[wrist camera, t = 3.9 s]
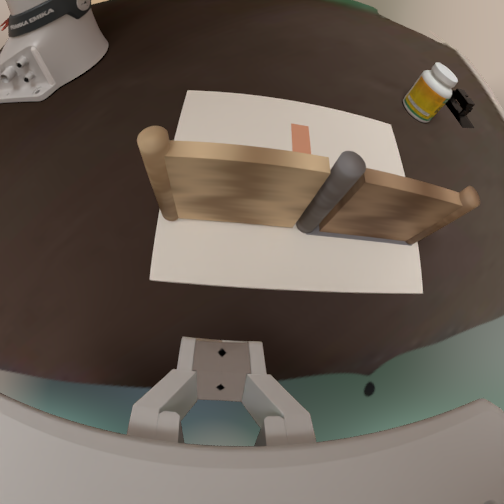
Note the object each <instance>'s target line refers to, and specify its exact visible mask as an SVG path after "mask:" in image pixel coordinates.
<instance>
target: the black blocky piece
mask: <svg viewBox="0 0 504 504" xmlns="http://www.w3.org/2000/svg"><path fill="white" fill-rule="evenodd" d="M467 97H468V95H467V94H466V92H465V91H464V90H461V89H456V91H455V90H454V91H453V92H452V96H451V98H450V99H449V100H448V101H447V102H446V103H445V104H446V105H447V107H448V108H449V109H450V111H451V112H452V113H453V115H454V116H455V117H456V119H457V120H458V122H459V123H460V125H461V126H462V127H463V128H474V127H473V125H472V124H471V122H470V121H469V119H468V118H467V116H466V115H467V114H468V113H469V112H471V110H472V109H473V108H472V107H473V106H474V105H475V104H474V103H473V101H472V100H471V99H470V98H467ZM456 99H457V101H458V102H459V103H460V106H461V107H462V109H463V110H462V109H461V107H460V106H459V104H458V103H457V101H456Z"/></svg>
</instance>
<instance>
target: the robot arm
mask: <svg viewBox="0 0 504 504" xmlns="http://www.w3.org/2000/svg"><path fill="white" fill-rule="evenodd" d="M6 2H7V5H8V8H9V10H10V13H11V14H10V16H9V18H8V19H7V20H6V21H5V22H4V23H3V24H2V25H4V24H5V23H6V25H5V26H4V27H3V29H2V31H3V30H4V29H5V28H6V27H7V26H8V25H9V38H8V40H7V42H6V44H5V46H4V48H3V50H2V52H1V54H0V103H7V102H28V101H42V100H44V99H46V98H47V97H48V96H50V95H51V94H52V93H53V92H54V91H55V90H57V89H58V88H59V87H61V86H62V85H64V84H66V83H67V82H69V81H71V80H73V79H75V78H76V77H78V76H80V75H81V74H83V73H84V72H86V71H87V70H89V69H90V68H91V67H92V66H94V65H95V64H96V63H97V62H98V61H99V60H100V59H101V58H102V57H103V56H104V55H105V53H106V52H107V49H108V46H109V44H108V41H107V40H106V39H105V37H104V36H103V34H102V33H101V31H100V29H99V27H98V25H97V23H96V20H95V18H94V15H93V13H92V10H91V0H6ZM2 25H1V26H2ZM197 399H200V400H223V401H240V402H242V404H243V405H244V407H245V408H246V409H247V411H248V412H249V413H250V415H251V416H252V417H253V419H254V420H255V421H256V423H257V424H258V426H259V427H260V428H261V430H260V432H259V435H258V438H257V440H256V443H255V446H248V447H247V446H245V447H244V446H212V445H211V446H210V445H195V444H185V443H184V439H183V433H182V427H181V420H182V419H183V418H184V417H185V415H186V414H187V413H188V412H189V410H190V409H191V408H192V407H193V405H194V404H195V403H196V402H197ZM0 504H504V411H502V410H501V409H500V408H499V407H497V406H496V405H494V404H493V403H491V402H490V401H487V400H486V399H477V400H475V401H472V402H470V403H468V404H465V405H463V406H460V407H458V408H455V409H453V410H450V411H447V412H444V413H442V414H439V415H436V416H433V417H430V418H427V419H424V420H421V421H418V422H414V423H411V424H407V425H403V426H400V427H396V428H392V429H388V430H384V431H379V432H375V433H371V434H366V435H360V436H356V437H350V438H344V439H338V440H330V441H323V442H316V438H315V434H314V430H313V425H312V421H311V417H310V413H309V412H308V411H307V410H306V409H305V408H304V407H302V406H301V405H300V404H299V403H298V402H297V401H296V400H295V399H294V398H293V397H292V396H291V395H290V394H289V393H288V392H287V391H286V390H285V389H284V388H283V387H282V386H281V385H280V384H279V383H278V382H277V381H276V380H275V379H274V378H273V377H272V375H270V374H267V373H266V366H265V358H264V351H263V344H262V342H260V341H231V340H213V339H203V338H191V337H182V339H181V345H180V351H179V358H178V364H177V369H172V370H171V371H170V372H169V373H168V374H167V375H166V376H165V377H164V378H163V379H161V380H160V381H159V382H158V383H157V384H156V385H155V386H154V387H153V388H152V389H150V390H149V391H148V392H147V393H146V394H145V395H144V396H143V397H142V398H140V399H139V400H138V401H137V402H136V403H135V404H134V405H133V408H132V412H131V417H130V421H129V426H128V431H127V435H125V434H120V433H115V432H111V431H107V430H103V429H98V428H94V427H91V426H87V425H84V424H80V423H77V422H74V421H70V420H67V419H64V418H61V417H58V416H55V415H52V414H49V413H47V412H44V411H41V410H39V409H36V408H33V407H31V406H28V405H26V404H24V403H21V402H19V401H17V400H14V399H12V398H10V397H8V396H6V395H4V394H2V393H0Z"/></svg>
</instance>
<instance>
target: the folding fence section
mask: <svg viewBox="0 0 504 504" xmlns="http://www.w3.org/2000/svg"><path fill="white" fill-rule="evenodd" d="M137 143H138V146H139V149H140V152H141V156H142V159H143V162H144V165H145V168H146V171H147V174H148V177H149V179H150V182H151V185H152V188H153V191H154V194H155V197H156V199H157V202H158V205H159V208H160V210H161V213H162V216H163V217H164V218H165V219H166V220H168V221H175V220H177V219H178V218H182V219H196V220H209V221H222V222H235V223H247V224H258V225H269V226H280V227H291V228H293V226H294V225H295V223H296V222H297V221H298V219H299V218H300V216H301V215H302V214H303V212H304V211H305V209H306V208H307V206H308V205H309V204H310V202H311V201H312V199H313V198H314V196H315V195H316V194H317V192H318V191H319V189H320V188H321V186H322V185H323V183H324V182H325V181H326V179H327V178H328V176H329V175H330V173H331V172H330V164H329V157H324V156H318V155H312V154H306V153H300V152H293V151H287V150H279V149H272V148H264V147H255V146H246V145H235V144H224V143H211V142H195V141H173V140H169V137H168V132H167V130H166V129H165V128H163V127H161V126H150V127H148V128H146V129H144V130H143V131H141V132H140V134H139V135H138V138H137Z"/></svg>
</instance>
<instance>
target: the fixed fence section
mask: <svg viewBox="0 0 504 504" xmlns="http://www.w3.org/2000/svg"><path fill="white" fill-rule="evenodd" d="M330 172H331V173H330V175H329V176H328V178H327V179H326V181H325V182H324V183H323V185H322V186H321V188H320V189H319V191H318V192H317V194H316V195H315V196H314V198H313V199H312V201H311V202H310V204H309V205H308V206H307V208H306V209H305V211H304V212H303V214H302V215H301V216H300V218H299V219H298V221H297V222H296V226H297V228H298V230H299V231H301V232H302V233H311V232H312V231H313V230H314V229H315V228H316V227H317V226H318V225H319V232H328V233H338V234H347V235H356V236H365V237H373V238H382V239H390V240H398V241H405V242H406V243H407V244H409V245H412V244H414V243H416V242H418V241H419V240H421V239H423V238H425V237H427V236H428V235H430V234H432V233H434V232H435V231H437V230H439V229H441V228H442V227H444V226H446V225H448V224H449V223H451V222H453V221H454V220H456V219H458V218H459V217H461V216H463V215H464V214H466V213H468V212H469V211H471V210H473V209H474V208H476V207H477V206H479V205H480V198H479V195H478V193H477V192H476V190H475V189H474V188H473V187H471V186H468V187H466V188H465V189H464V190H462V191H461V192H459V193H458V192H455V191H452V190H449V189H446V188H442V187H439V186H436V185H432V184H429V183H425V182H422V181H418V180H415V179H411V178H407V177H403V176H399V175H395V174H391V173H387V172H383V171H379V170H374V169H370V168H366V164H365V162H364V160H363V158H362V157H361V156H360V155H358V154H357V153H355V152H353V151H344V152H342V153H341V155H340V156H339V158H338V159H337V161H336V162H335V164H334V165H333V167H332V168H331V170H330Z"/></svg>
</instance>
